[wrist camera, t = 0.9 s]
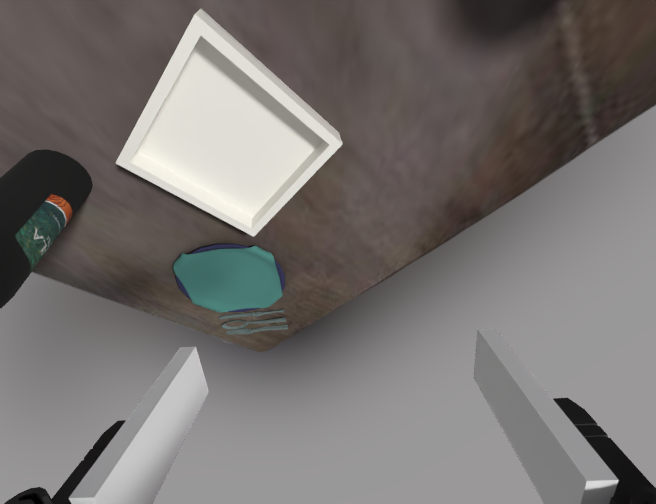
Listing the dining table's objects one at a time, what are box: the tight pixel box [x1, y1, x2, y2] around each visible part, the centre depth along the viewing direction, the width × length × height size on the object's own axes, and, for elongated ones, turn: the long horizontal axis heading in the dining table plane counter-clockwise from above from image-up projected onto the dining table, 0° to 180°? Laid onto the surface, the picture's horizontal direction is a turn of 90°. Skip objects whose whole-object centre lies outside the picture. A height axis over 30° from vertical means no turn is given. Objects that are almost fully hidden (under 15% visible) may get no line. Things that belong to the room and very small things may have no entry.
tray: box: [116, 9, 343, 237], centre depth 41 cm, size 20×20×4 cm
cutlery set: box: [173, 244, 288, 335], centre depth 64 cm, size 20×30×2 cm, turn 2°
